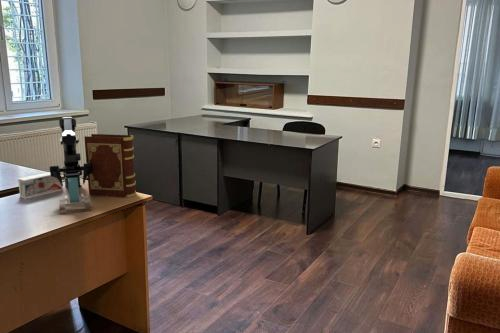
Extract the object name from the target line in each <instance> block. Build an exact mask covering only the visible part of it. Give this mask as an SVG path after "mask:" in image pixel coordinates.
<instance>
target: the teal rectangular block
mask: <svg viewBox="0 0 500 333" xmlns="http://www.w3.org/2000/svg"><path fill="white" fill-rule="evenodd" d="M67 189H68V195H69V196H68V197H69V198H68V199H70V203H73V202H79V198H80V192H79V187H78V180H77V177H76V178H68V188H67Z"/></svg>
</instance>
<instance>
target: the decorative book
mask: <svg viewBox="0 0 500 333" xmlns="http://www.w3.org/2000/svg"><path fill="white" fill-rule="evenodd" d="M90 135H91V136H88V135H87V136H86V135H85V136H84V149H85V150H84V151H85V163H92V165H93V173H90V175H88V176H87V183H88V184H87V186H88V194H89V197H91V196H95V197H114V198H115V197H116V198H133V197H134V196H136V195H137V191H136V185H137V184H136V182H137V181H136V179H135V178H136V173H135V165H134V164H135V163H134V162H135V160H134V158H135V155H134V148H135V147H134V143H133V140H134V135H132V134H128V135H127V134H104V133H102V134H101V133H91V134H90Z"/></svg>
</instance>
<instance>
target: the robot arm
mask: <svg viewBox="0 0 500 333" xmlns="http://www.w3.org/2000/svg"><path fill="white" fill-rule="evenodd" d="M58 123H59V128H60V129H61V137H60V145H62V147H63V148H62V149H63V159H64V161H63V165H62V167H60V166H59V165H50V166H49V172H50V175H51V176H52V177H53V176H54V178H57V179H58V180H59V182H60V184H61V186H62V187H65V188H67V189H69V188H68V178H76V177H77V180H78V188H82V187H83V185H85V183H86V180H87V179H88V175H90V173H93V165H92V163H86V162H85V163H83V166H81V164H79V161H80V162H81V160H82V158H81V157H82V156H81V153H80V152H79V153H78V152H77V144H79V142H80V138H78V136H76V128H77V119H76V118H74V117H72V116H62V117H61V118H60V119H58ZM60 173H63V177H64V183H63V179H62V174H60ZM81 176H82V184H83V185H82V184H81ZM63 184H64V185H65V186H64V185H63Z"/></svg>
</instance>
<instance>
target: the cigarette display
mask: <svg viewBox="0 0 500 333" xmlns="http://www.w3.org/2000/svg"><path fill="white" fill-rule="evenodd" d="M61 173H62V172H60V174H61ZM61 175H62V174H61ZM17 182H18V191H19V197H20V198H23V199H26V200H28V199H32V198H35V197H39V196H44V195H47V194H48V195H49V194H51V193H55V192H59V191H63V186H61V184H60V182H59V180H58V179H57V178H54V176H53V177H52V176H51V175H50V171H48V172H44V173H40V174H33V175H28V176H24V177H19V178H17ZM27 198H28V199H27Z"/></svg>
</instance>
